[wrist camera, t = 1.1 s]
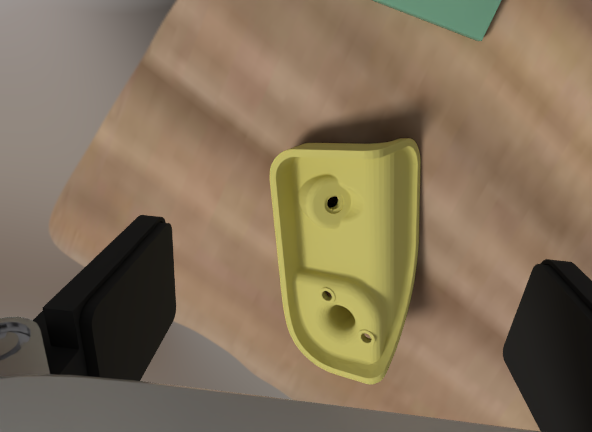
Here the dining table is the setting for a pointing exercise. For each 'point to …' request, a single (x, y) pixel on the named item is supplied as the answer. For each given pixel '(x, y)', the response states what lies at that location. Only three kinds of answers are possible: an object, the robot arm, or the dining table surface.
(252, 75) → the dining table surface
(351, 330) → the plastic component
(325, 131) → the dining table surface
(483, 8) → the header
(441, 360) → the dining table surface
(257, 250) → the dining table surface
